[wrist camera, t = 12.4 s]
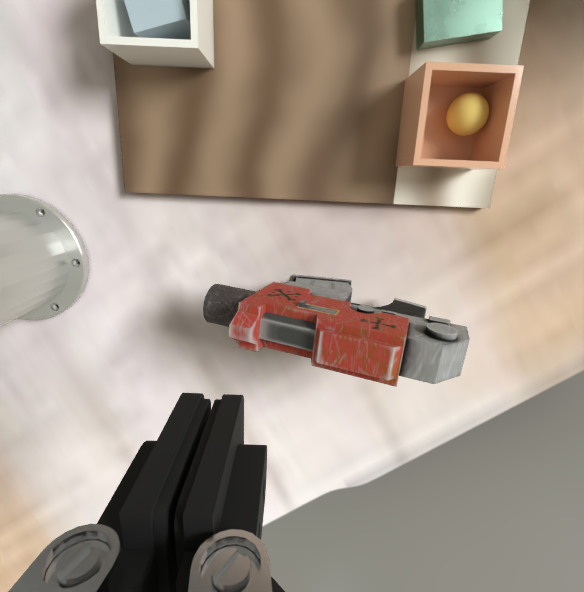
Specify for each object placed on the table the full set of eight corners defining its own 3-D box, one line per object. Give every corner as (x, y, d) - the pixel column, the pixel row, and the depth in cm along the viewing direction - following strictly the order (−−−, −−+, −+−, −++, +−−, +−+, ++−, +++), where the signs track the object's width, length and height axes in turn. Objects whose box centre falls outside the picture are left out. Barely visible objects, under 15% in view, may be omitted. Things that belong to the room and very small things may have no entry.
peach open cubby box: (395, 166, 35) (413, 165, 30) (405, 79, 33) (426, 61, 27) (472, 169, 35) (504, 168, 30) (487, 83, 33) (524, 65, 27)
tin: (416, 50, 32) (424, 42, 30) (414, -7, 31) (422, -19, 29) (489, 38, 32) (502, 30, 30) (490, -19, 30) (503, -32, 29)
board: (130, 191, 37) (125, 191, 36) (111, -36, 31) (104, -44, 30) (484, 207, 37) (490, 208, 36) (526, -18, 31) (535, -25, 30)
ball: (442, 142, 32) (477, 122, 29) (434, 105, 32) (468, 82, 29) (466, 143, 34) (501, 124, 31) (458, 107, 34) (492, 85, 31)
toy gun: (263, 258, 42) (182, 292, 28) (461, 293, 36) (479, 357, 22) (261, 293, 43) (182, 341, 30) (452, 331, 37) (463, 414, 24)
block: (153, 49, 32) (133, 32, 28) (137, -7, 31) (114, -32, 27) (199, 37, 31) (186, 18, 28) (185, -20, 30) (169, -48, 26)
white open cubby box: (131, 64, 33) (100, 43, 27) (124, -36, 30) (88, -80, 25) (214, 68, 33) (198, 48, 27) (212, -32, 30) (194, -75, 25)
